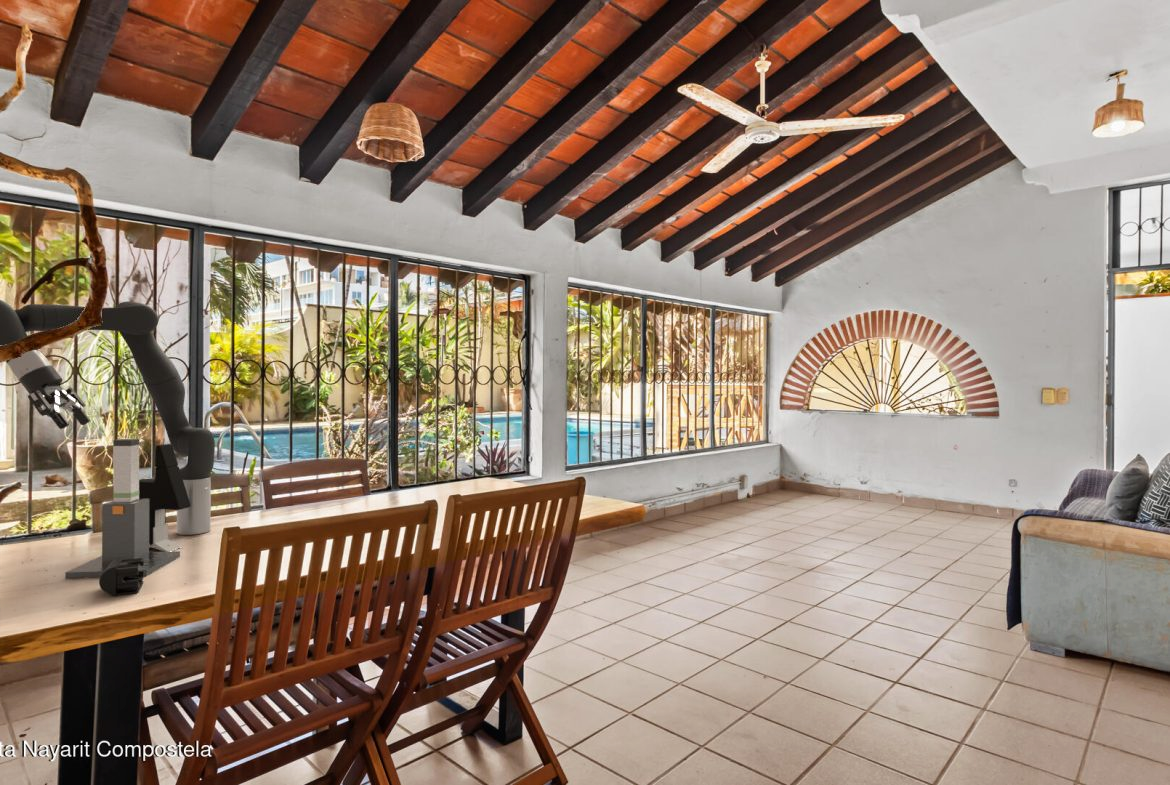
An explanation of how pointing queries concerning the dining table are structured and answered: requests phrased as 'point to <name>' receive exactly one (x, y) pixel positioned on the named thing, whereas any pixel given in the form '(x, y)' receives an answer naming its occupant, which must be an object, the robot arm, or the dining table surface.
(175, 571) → the dining table surface
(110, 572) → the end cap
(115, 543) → the stand
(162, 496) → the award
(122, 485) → the column
